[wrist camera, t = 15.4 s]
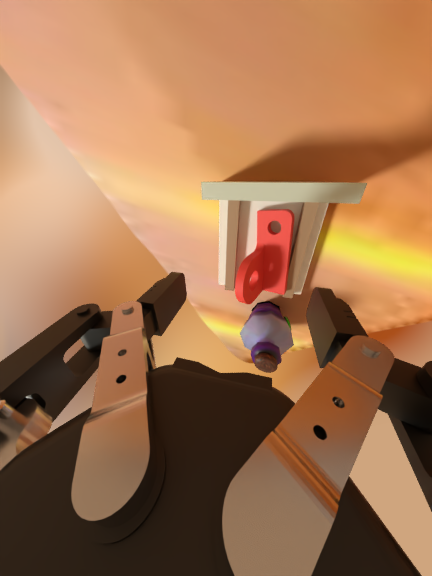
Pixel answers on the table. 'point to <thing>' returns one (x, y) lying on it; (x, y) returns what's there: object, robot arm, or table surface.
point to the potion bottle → (267, 336)
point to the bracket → (267, 257)
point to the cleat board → (273, 195)
